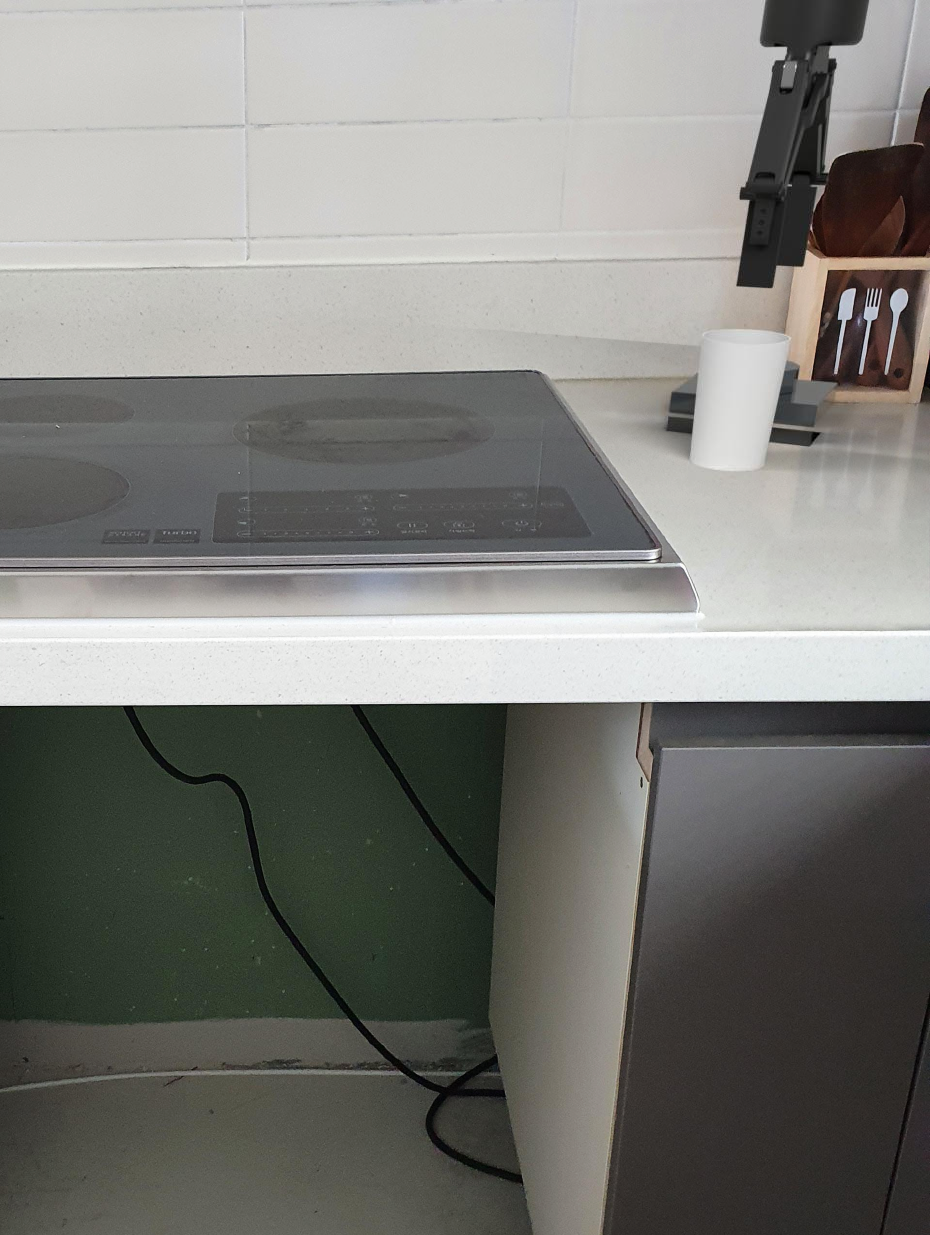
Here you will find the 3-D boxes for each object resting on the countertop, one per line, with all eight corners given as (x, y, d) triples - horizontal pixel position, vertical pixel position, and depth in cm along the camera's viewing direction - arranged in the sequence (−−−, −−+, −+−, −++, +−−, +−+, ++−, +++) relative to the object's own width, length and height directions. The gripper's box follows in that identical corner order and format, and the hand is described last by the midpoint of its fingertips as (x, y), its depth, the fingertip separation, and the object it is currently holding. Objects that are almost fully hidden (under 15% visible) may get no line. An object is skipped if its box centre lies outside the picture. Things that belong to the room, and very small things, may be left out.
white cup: (777, 473, 106) (800, 345, 102) (690, 471, 108) (708, 344, 103) (761, 452, 112) (781, 329, 108) (678, 450, 113) (695, 328, 109)
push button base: (830, 421, 121) (842, 359, 119) (809, 447, 113) (821, 381, 111) (694, 408, 127) (702, 348, 124) (666, 431, 119) (674, 368, 117)
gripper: (845, -18, 93) (790, 300, 102) (892, -8, 112) (842, 260, 121) (732, -13, 96) (689, 293, 106) (796, -4, 115) (755, 255, 125)
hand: (771, 276), depth 114 cm, fingers open, 13 cm apart
